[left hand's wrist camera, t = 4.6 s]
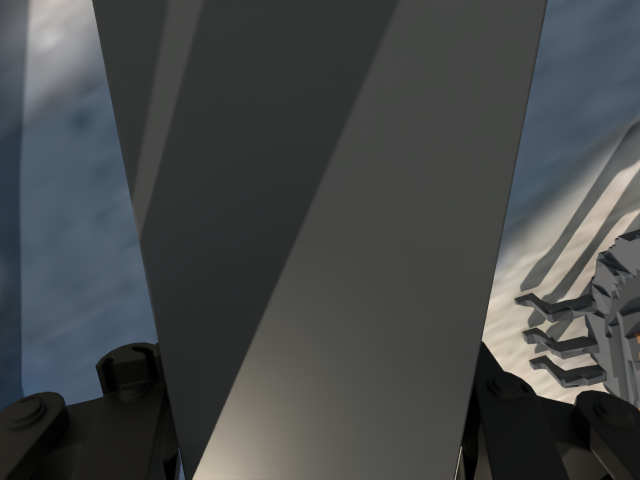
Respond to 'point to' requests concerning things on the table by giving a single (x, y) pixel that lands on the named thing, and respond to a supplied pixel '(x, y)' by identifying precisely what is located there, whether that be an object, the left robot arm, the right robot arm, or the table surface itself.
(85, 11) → the table surface
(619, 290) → the toy
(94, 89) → the table surface
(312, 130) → the bar
